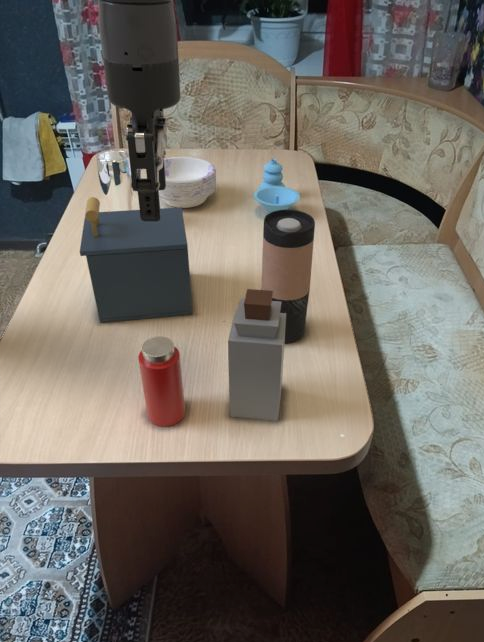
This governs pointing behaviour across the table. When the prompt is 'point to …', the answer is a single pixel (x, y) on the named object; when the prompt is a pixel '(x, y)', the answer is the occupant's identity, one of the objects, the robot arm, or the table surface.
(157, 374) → the red bottle
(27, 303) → the table surface
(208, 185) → the paper bowls
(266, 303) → the perfume bottle
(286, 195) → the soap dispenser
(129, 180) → the beer glass
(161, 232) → the lid
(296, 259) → the travel mug
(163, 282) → the chest
